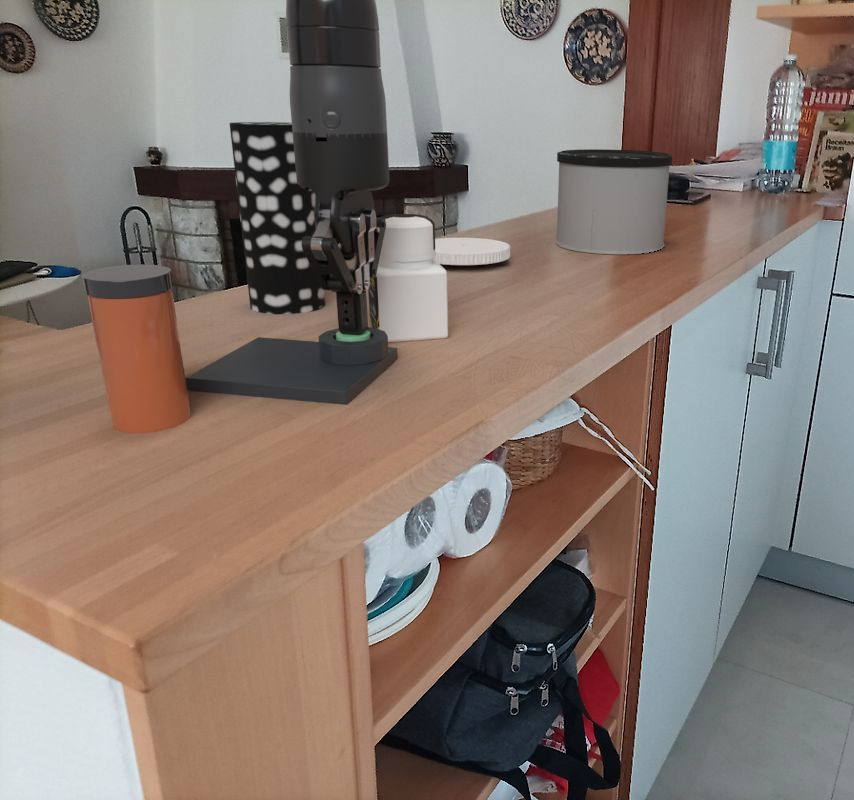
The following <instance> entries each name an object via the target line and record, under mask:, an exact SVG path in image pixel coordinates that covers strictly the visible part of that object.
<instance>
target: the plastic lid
mask: <svg viewBox="0 0 854 800" xmlns="http://www.w3.org/2000/svg"><path fill="white" fill-rule="evenodd" d="M510 258H511V245H510V244H509V243H507V242H505V241H501V240H497V239H490V238H482V237H481V238H479V237H445V238H444V237H442V238H435V257H434V259H435V260H436V261H437V262H438V263H439V264H440V265H446V266H447V265H448V266H449V265H450V266H478V265H489V264H496V263H501V262H505V261H507V260H508V259H510Z"/></svg>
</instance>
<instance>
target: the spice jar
mask: <svg viewBox="0 0 854 800" xmlns="http://www.w3.org/2000/svg"><path fill="white" fill-rule="evenodd" d="M81 280H82V285H83V290H84V294H85V295H86V297H87V303H88V307H89V312H90V319H91V323H92V328H93V335H94V340H95V344H96V350H97V355H98V360H99V365H100V370H101V376H102V381H103V386H104V392H105V396H106V397H105V398H106V402H107V407H108V413H109V418H110V424H111V427H112V428H113V429H114V430H115V431H117V432H121V433H125V434H150V433H158V432H163V431H166V430H169V429H173V428H176V427H178V426H180V425H182V424H184V423H186V422H187V421H188V420H189V419H190V418H191V415H192V412H191V411H192V410H191V405H190V399H189V393H188V392H189V391H187V385H186V372H185V364H184V358H183V351H182V345H181V338H180V332H179V325H178V317H177V311H176V305H175V298H174V291H173V288H174V282H173V275H172V270H171V268H169V267H167V266H164V265H159V264H158V265H157V264H122V265H113V266H105V267H100V268H94V269H92V270H88V271H85V272H84V273H83V274H82V275H81Z"/></svg>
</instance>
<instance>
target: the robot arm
mask: <svg viewBox="0 0 854 800" xmlns="http://www.w3.org/2000/svg"><path fill="white" fill-rule="evenodd" d="M285 20H286V21H285V22H286V35H287V46H288V57H289V58H288V59H289V65H290V67H289V72H290V73H289V108H290V116H291V117H290V119H291V123H292V132H293V144H294V155H295V166H296V178H297V183H298V185H299V186H300V187H302V188H304V189H308V190H310V189H311V190H312V191H314V193H315V195H316V198H315V209H314V219H315V225H316V231H315V234H314V236H313V237H306V236H305V237H303V239H302V249H303V251H304V253H305V255H306V257H307V259H308V261H309V263H310V265H311V267H312V269H313V271H314V273H315V275H316V277H317V279H318V281H319V283H320V285H321V287H322V289H323V290H324V291H331V292H332V293H335V297H336V298H335V299H336V311H337V324H338V325H337V326H338V328H339V331H340V333H342V334H345V335H360V334H362V333H363V332H365V331H366V330H367V329H368V327H369V316H368V315H369V314H368V299H367V298H368V297H367V296H368V295H367V291H368V289H369V286H370V278H375V277H376V274H377V269H378V264H379V259H380V254H381V249H382V244H383V239H384V234H385V229H386V221H385V219H384V218H380V217H377V213H376V210H375V202H374V197H373V192H372V191H379V190H382V189H384V188H386V187H387V186H388V185H389V183H390V164H389V163H390V161H389V143H388V141H389V140H388V121H387V103H386V94H385V87H384V83H383V82H384V81H383V75H382V69H381V67H382V61H381V42H380V40H381V38H380V23H379V15H378V8H377V2H376V0H285Z"/></svg>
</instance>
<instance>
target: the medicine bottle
mask: <svg viewBox="0 0 854 800" xmlns="http://www.w3.org/2000/svg"><path fill="white" fill-rule="evenodd" d="M379 218H384V219H385V221H386V229H385V234H384V239H383V244H382V249H381V254H380V259H379V264H378V269H377V274H376V277H375V278H370V286H369V289H368V290H367V292H368V293H367V294H368V309H369V311H368V312H369V323H370V326H371V328H376V329H379V330H382V331H385V333H386V334H387V336H388V343H400V342H414V341H415V342H417V341H429V340H441V339H444V340H445V339H448V338H449V303H448V301H449V299H448V297H449V296H448V295H449V294H448V271H447V270H446V269H445V267H443V266H442V264H439V263H438V262H437V261H436V260H435V259H434V257H435V239H436V226H435V225H436V224H435V222H434V221H433V219H432V218H430V217H428V216H426V215H422V214H415V213H394V214H393V213H392V214H385V215H381V216H380V217H379Z"/></svg>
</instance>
